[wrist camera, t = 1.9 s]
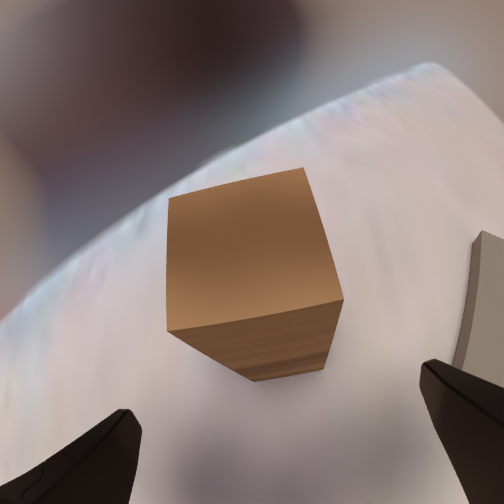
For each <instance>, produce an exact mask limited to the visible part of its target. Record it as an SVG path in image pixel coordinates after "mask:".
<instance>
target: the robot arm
mask: <svg viewBox="0 0 504 504" xmlns="http://www.w3.org/2000/svg"><path fill="white" fill-rule="evenodd" d="M419 385H420V390H421V393H422V395H423V398H424V401H425V403H426V406H427V409H428V411H429V414H430V417H431V420H432V422H433V425H434V428H435V430H436V432H437V434H438V436H439V438H440V440H441V442H442V444H443V446H444V448H445V450H446V453H447V455H448V457H449V459H450V461H451V463H452V465H453V467H454V470H455V472H456V474H457V476H458V478H459V481H460V483H461V485H462V487H463V490H464V492H465V494H466V497H467V499H468V501H469V504H504V388H503V387H501V386H498V385H496V384H494V383H491V382H489V381H486V380H484V379H482V378H479V377H477V376H474V375H472V374H470V373H467V372H465V371H463V370H460V369H458V368H456V367H453V366H451V365H449V364H446V363H444V362H442V361H439V360H437V359H431V360H428V361H426V362H424V363H423V364H422V366H421V374H420V383H419ZM141 436H142V428H141V425H140V424H139V422H138V420H137V419H136V417H135V416H134V414H133V412H132V411H131V410H129V409H118V410H117V411H115V412H114V413H112V414H111V415H110V416H108V417H107V418H106V419H104V420H103V421H101V422H100V423H99V424H97V425H96V426H94V427H93V428H92V429H90V430H89V431H87V432H86V433H85V434H83V435H82V436H80V437H79V438H77V439H76V440H75V441H73V442H72V443H70V444H69V445H67V446H66V447H64V448H63V449H61V450H60V451H59V452H57V453H56V454H54V455H53V456H51V457H50V458H48V459H47V460H45V462H42V463H41V464H39V465H38V466H36V467H35V468H33V469H31V470H30V471H28V472H26V473H25V474H23V475H21V476H19V477H17V478H15V479H13V480H12V481H10V482H8V483H6V484H4V485H2V486H0V504H129V500H130V496H131V492H132V487H133V483H134V479H135V475H136V471H137V465H138V458H139V450H140V443H141Z"/></svg>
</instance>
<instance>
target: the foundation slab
mask: <svg viewBox="0 0 504 504" xmlns="http://www.w3.org/2000/svg"><path fill="white" fill-rule="evenodd" d="M452 366H453V367H456V368H458V369H460V370H463V371H465V372H467V373H470V374H472V375H474V376H477V377H479V378H482V379H484V380H486V381H489V382H491V383H494V384H496V385H498V386H501V387H503V388H504V239H502V238H499V237H497V236H495V235H492V234H490V233H487V232H485V231H483V230H482V231H481V232H480V234H479V235H478V237H477V238H476V239H475V241H474V242H473V245H472V257H471V267H470V276H469V284H468V291H467V298H466V304H465V310H464V316H463V321H462V326H461V331H460V335H459V340H458V344H457V348H456V353H455V357H454V360H453V364H452Z"/></svg>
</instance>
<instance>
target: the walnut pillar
mask: <svg viewBox="0 0 504 504" xmlns="http://www.w3.org/2000/svg"><path fill="white" fill-rule="evenodd" d="M343 301H344V298H343V294H342V290H341V286H340V283H339V279H338V275H337V272H336V268H335V265H334V261H333V258H332V254H331V251H330V248H329V244H328V241H327V238H326V234H325V231H324V228H323V225H322V221H321V218H320V215H319V212H318V209H317V206H316V203H315V200H314V197H313V194H312V191H311V188H310V185H309V182H308V179H307V176H306V173H305V170H304V168H299V169H293V170H288V171H283V172H278V173H273V174H269V175H264V176H259V177H255V178H250V179H245V180H241V181H237V182H232V183H228V184H224V185H219V186H215V187H211V188H207V189H203V190H199V191H195V192H191V193H187V194H183V195H180V196H176V197H172V198H169V206H168V227H167V264H166V309H167V332H169V333H171V334H172V335H174V336H175V337H177V338H179V339H180V340H182V341H183V342H185V343H187V344H188V345H190V346H191V347H193V348H195V349H196V350H198V351H200V352H201V353H203V354H205V355H207V356H208V357H210V358H212V359H213V360H215V361H217V362H219V363H220V364H222V365H224V366H226V367H227V368H229V369H231V370H233V371H235V372H236V373H238V374H240V375H242V376H244V377H246V378H248V379H249V380H251V381H253V382H255V381H262V380H268V379H274V378H280V377H286V376H292V375H297V374H302V373H307V372H312V371H317V370H322V369H324V366H325V362H326V359H327V356H328V353H329V350H330V346H331V343H332V340H333V336H334V333H335V330H336V326H337V323H338V319H339V316H340V312H341V308H342V305H343Z"/></svg>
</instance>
